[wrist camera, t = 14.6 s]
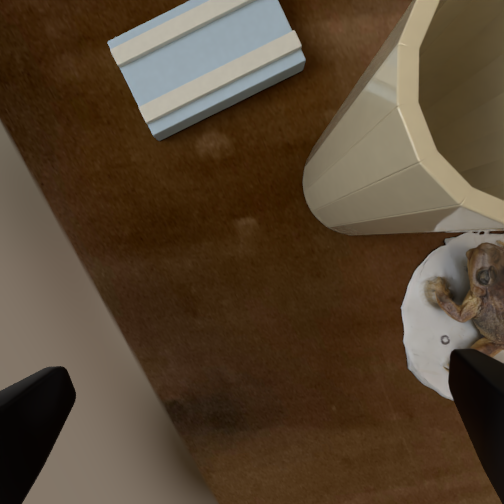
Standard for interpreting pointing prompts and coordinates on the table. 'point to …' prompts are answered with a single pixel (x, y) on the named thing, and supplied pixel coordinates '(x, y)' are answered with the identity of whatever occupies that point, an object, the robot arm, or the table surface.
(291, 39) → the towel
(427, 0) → the cup
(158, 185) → the table surface
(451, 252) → the frog figurine
